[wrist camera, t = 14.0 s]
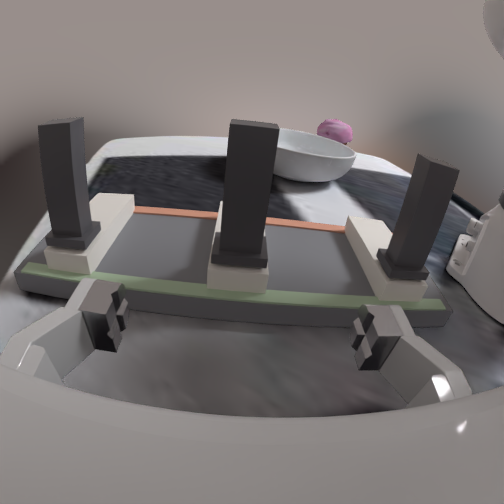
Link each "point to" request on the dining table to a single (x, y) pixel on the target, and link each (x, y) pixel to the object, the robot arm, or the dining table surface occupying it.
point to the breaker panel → (192, 263)
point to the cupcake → (335, 131)
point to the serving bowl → (311, 157)
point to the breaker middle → (246, 194)
